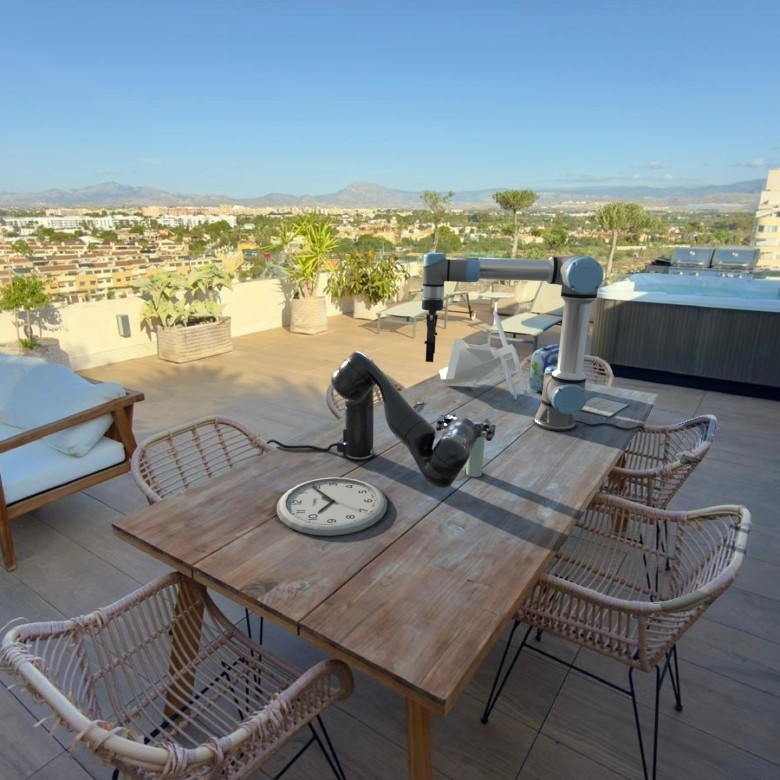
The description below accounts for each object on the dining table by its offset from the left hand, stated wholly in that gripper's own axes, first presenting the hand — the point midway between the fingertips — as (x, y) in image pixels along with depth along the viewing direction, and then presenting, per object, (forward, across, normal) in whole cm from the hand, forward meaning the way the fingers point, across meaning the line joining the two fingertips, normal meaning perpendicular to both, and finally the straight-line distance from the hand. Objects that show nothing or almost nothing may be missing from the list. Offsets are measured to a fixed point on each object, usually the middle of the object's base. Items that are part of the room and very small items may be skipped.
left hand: (470, 419), depth 137 cm
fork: (+77, -32, -22) cm, 86 cm away
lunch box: (+123, +22, -15) cm, 126 cm away
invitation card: (+104, +44, -15) cm, 114 cm away
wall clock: (-11, -32, -28) cm, 44 cm away
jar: (+22, +1, -24) cm, 32 cm away
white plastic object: (+106, -9, -18) cm, 108 cm away
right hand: (+51, -23, +5) cm, 56 cm away
